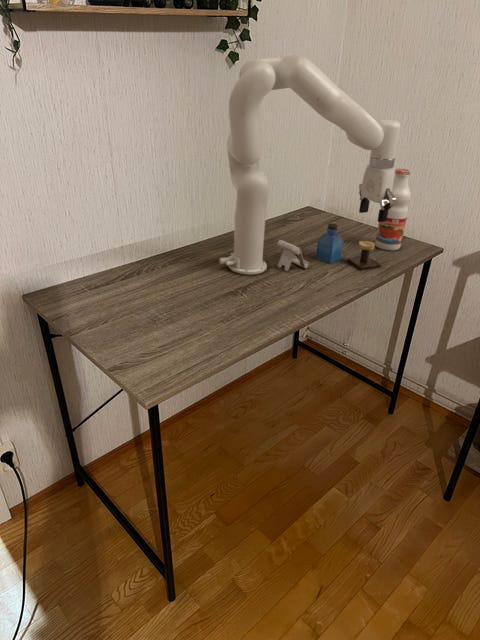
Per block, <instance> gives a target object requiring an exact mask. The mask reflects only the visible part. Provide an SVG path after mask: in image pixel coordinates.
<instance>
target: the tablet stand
mask: <svg viewBox="0 0 480 640" xmlns="http://www.w3.org/2000/svg"><path fill="white" fill-rule="evenodd" d="M277 246H278V247H280V248H282V249H283V251H282V253H281V256H280V258H279V261H278V263H277V268H279V269H281V268H282V266H284V271H285V272H288V271H289V270H290V267H291V264H294V265H296V266H299V267H301V268H303V269H305V270H307V269H308V268H309V266H310V262H309V261H308V260H305V259H304V257H303V256H304V255H303V252H302V248H301V247H299V246H296V245H294V244H291V243H289V242H287V241H285V240H282V239H279V240H278V241H277ZM296 255H297V256H296Z"/></svg>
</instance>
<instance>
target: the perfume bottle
mask: <svg viewBox="0 0 480 640" xmlns="http://www.w3.org/2000/svg"><path fill="white" fill-rule="evenodd" d="M316 244H317V245H316V252H315V259H318V260H319V261H323V262H325V263H327V264H332V263H335V262H337V261H339V260H341V259H342V253H343V248H344V241H343V238H342V236H341V235H340V234H338V224H336V223H327V228H326V233H323V234H322V235H321V237H320V238H319V239H318V240H317V243H316Z"/></svg>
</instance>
